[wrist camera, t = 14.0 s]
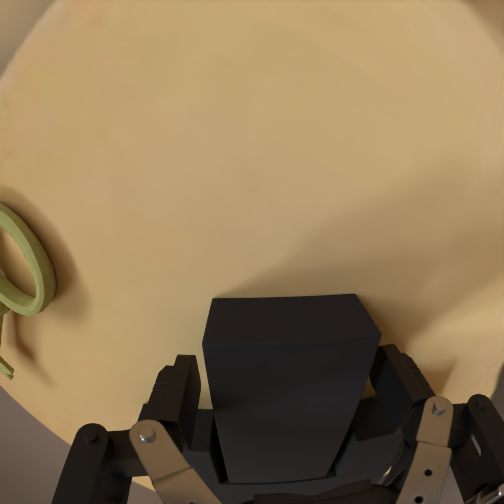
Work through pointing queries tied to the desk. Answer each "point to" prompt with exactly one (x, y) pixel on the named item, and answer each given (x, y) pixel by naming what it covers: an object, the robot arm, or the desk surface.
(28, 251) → the key
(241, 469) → the strip pad
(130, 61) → the desk surface
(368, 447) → the base pad
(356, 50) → the desk surface
